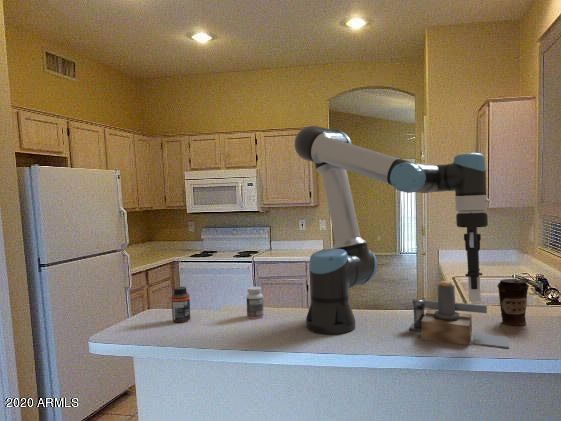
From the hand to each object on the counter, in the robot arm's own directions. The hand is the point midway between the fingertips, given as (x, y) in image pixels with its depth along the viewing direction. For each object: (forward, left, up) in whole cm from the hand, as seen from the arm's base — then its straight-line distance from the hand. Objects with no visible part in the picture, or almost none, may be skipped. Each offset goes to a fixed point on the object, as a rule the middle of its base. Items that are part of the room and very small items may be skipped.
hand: (474, 300), depth 107 cm
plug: (-7, +3, -11) cm, 13 cm away
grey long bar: (-7, +6, -5) cm, 10 cm away
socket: (-7, +3, -11) cm, 13 cm away
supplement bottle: (-89, -15, -11) cm, 91 cm away
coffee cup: (+10, +22, -11) cm, 26 cm away
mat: (+4, +2, -11) cm, 12 cm away
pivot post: (-15, +6, -11) cm, 20 cm away
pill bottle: (-68, -1, -11) cm, 69 cm away
